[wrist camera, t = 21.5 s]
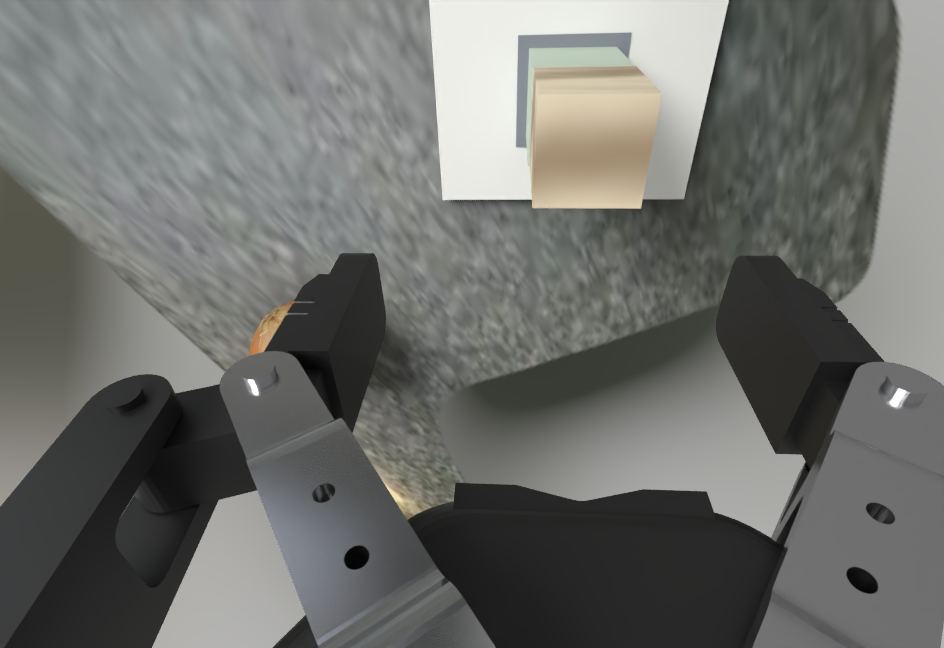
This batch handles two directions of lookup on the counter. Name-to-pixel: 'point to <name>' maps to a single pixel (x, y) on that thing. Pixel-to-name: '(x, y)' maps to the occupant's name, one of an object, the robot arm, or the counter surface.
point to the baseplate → (561, 26)
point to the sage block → (568, 59)
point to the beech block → (591, 136)
